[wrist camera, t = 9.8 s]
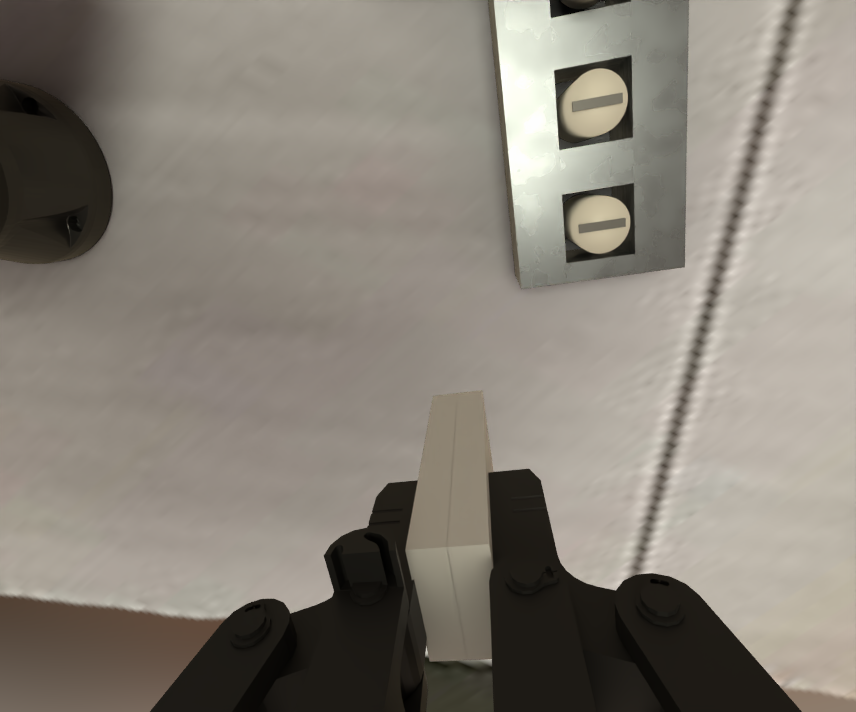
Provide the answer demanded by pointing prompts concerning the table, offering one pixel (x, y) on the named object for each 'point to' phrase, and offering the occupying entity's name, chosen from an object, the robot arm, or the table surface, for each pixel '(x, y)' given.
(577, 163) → the mount
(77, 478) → the table surface
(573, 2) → the knob
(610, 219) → the knob
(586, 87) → the knob
